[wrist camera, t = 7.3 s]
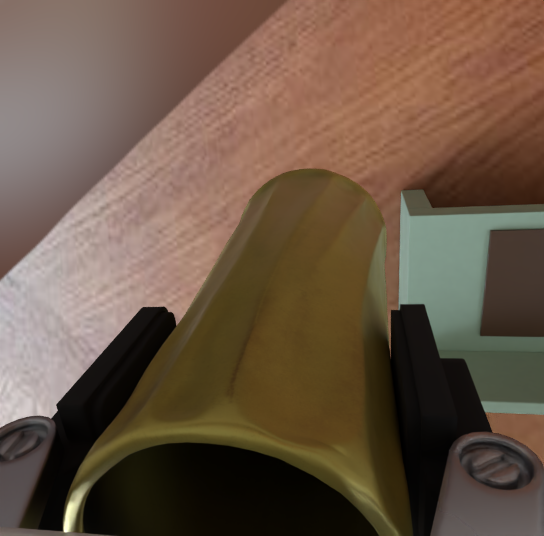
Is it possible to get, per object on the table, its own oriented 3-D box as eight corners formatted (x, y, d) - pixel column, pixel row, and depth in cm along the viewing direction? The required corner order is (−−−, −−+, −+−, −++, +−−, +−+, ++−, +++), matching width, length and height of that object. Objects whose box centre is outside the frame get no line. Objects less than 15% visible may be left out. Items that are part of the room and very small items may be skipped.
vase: (382, 307, 20) (430, 726, 7) (244, 302, 21) (74, 664, 8) (390, 166, 18) (481, 417, 5) (234, 168, 19) (-21, 381, 6)
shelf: (398, 315, 37) (413, 409, 27) (401, 190, 33) (419, 246, 23) (627, 316, 34) (739, 423, 24) (660, 179, 30) (811, 238, 20)
